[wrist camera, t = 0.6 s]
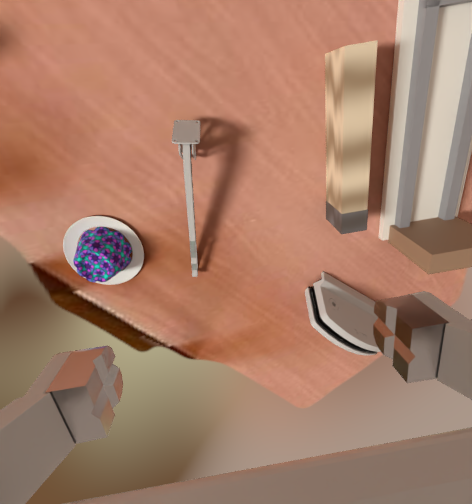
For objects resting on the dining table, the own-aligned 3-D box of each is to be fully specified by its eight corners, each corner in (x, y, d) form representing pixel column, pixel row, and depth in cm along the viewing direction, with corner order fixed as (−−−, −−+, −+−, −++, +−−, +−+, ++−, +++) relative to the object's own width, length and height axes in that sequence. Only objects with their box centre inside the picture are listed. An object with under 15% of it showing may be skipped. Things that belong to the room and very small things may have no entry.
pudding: (160, 247, 47) (154, 263, 42) (116, 294, 50) (107, 314, 46) (92, 197, 42) (78, 209, 38) (50, 252, 46) (32, 270, 41)
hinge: (386, 308, 56) (401, 358, 49) (366, 318, 59) (377, 366, 52) (321, 270, 51) (328, 319, 44) (302, 283, 54) (306, 332, 47)
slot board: (399, -11, 34) (478, -57, 24) (501, -29, 34) (622, -82, 24) (378, 240, 49) (421, 275, 39) (449, 227, 49) (509, 260, 39)
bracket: (200, 119, 37) (198, 171, 31) (204, 230, 54) (204, 277, 48) (174, 119, 36) (168, 171, 31) (187, 230, 54) (185, 277, 48)
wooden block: (324, 54, 36) (344, 46, 31) (353, 49, 36) (378, 40, 31) (326, 218, 46) (341, 234, 41) (348, 214, 46) (366, 229, 41)
